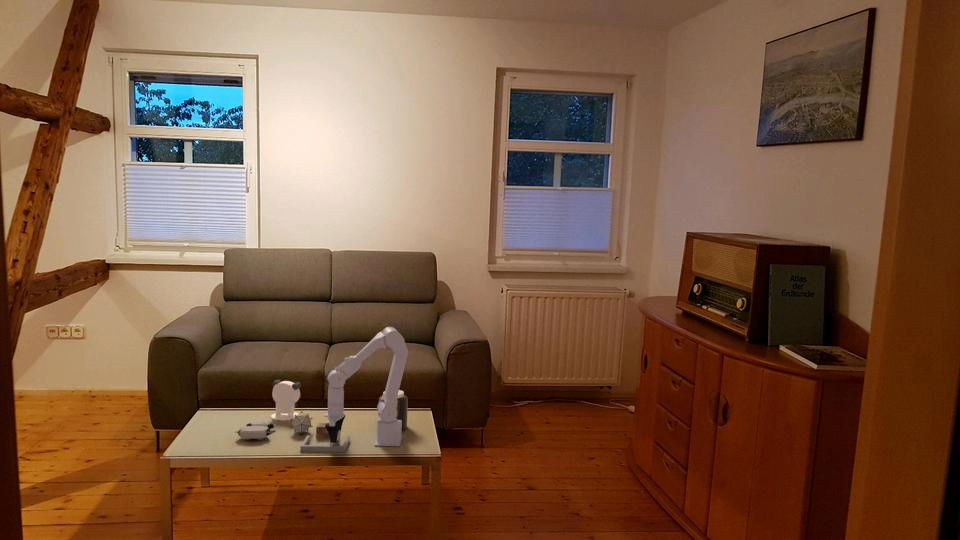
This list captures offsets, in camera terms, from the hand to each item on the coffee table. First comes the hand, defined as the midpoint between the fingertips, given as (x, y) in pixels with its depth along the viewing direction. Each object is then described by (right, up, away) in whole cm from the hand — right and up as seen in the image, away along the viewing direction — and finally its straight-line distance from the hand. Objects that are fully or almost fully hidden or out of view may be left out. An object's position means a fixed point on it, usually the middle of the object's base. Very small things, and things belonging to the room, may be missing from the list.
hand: (335, 438), depth 226 cm
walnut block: (-7, -2, +11) cm, 13 cm away
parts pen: (-4, -3, +1) cm, 5 cm away
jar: (+18, -2, +22) cm, 29 cm away
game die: (-16, -2, +13) cm, 21 cm away
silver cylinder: (0, -3, 0) cm, 3 cm away
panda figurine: (-28, 0, +32) cm, 42 cm away
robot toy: (-32, -2, +8) cm, 33 cm away
